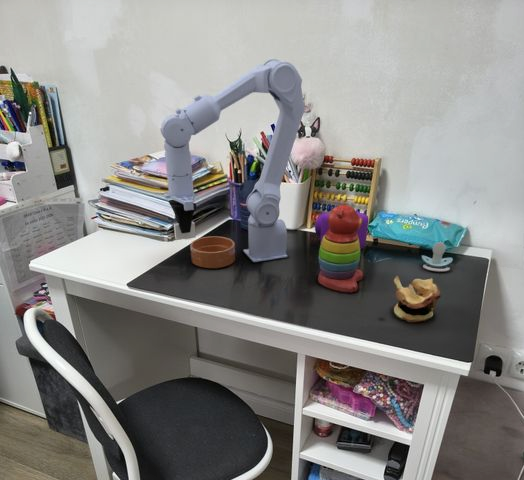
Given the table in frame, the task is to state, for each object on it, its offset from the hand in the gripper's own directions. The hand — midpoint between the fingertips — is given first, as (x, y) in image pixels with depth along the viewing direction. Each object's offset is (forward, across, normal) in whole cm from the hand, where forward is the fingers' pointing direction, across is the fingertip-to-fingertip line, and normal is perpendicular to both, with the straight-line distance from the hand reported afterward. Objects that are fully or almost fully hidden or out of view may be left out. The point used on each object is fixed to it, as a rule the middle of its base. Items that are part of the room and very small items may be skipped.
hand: (184, 231), depth 121 cm
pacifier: (+9, +25, +56) cm, 62 cm away
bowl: (+8, +1, +6) cm, 11 cm away
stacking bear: (+9, +23, +30) cm, 39 cm away
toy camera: (+9, +4, +40) cm, 42 cm away
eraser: (+2, 0, 0) cm, 2 cm away
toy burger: (+9, +42, +38) cm, 57 cm away
